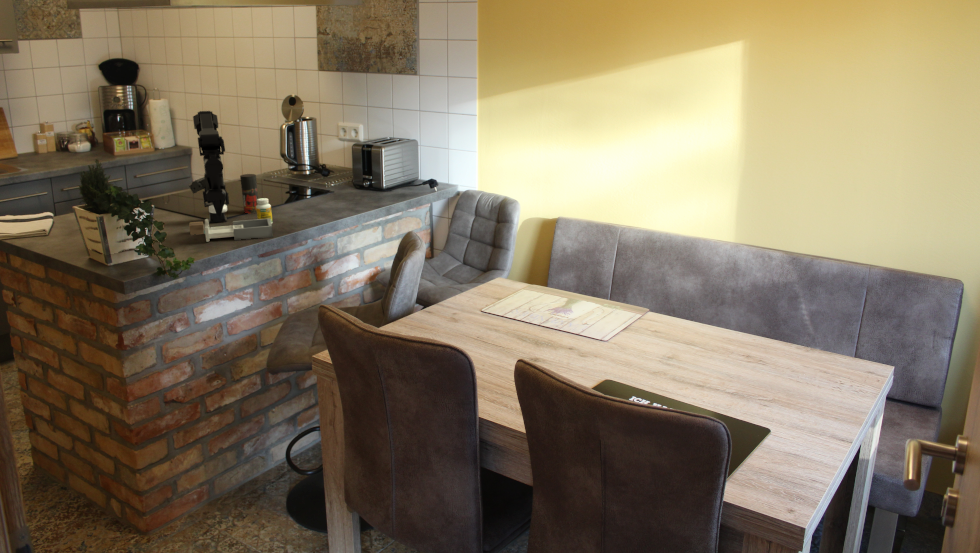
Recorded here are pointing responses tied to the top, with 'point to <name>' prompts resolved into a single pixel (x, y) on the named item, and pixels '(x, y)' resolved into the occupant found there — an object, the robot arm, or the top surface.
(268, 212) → the supplement bottle
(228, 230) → the tray
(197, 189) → the robot arm
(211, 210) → the disc
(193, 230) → the pedestal
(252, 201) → the deodorant
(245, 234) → the housing
